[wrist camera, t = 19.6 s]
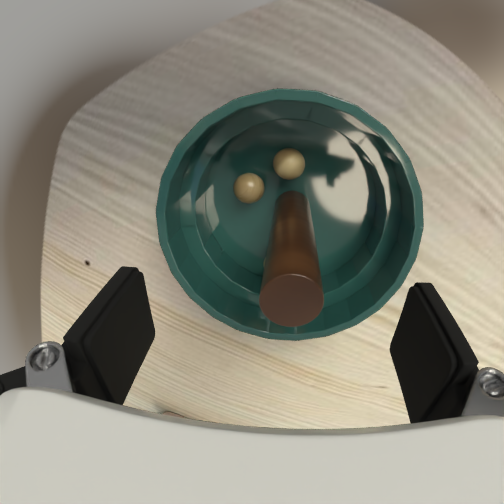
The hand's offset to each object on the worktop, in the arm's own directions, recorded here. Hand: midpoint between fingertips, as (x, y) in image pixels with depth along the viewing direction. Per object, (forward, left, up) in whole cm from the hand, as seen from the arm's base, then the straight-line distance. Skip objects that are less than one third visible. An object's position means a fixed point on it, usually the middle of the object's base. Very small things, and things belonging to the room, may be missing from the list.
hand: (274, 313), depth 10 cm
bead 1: (-3, -1, -11) cm, 11 cm away
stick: (+1, 0, -12) cm, 12 cm away
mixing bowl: (0, 0, -13) cm, 13 cm away
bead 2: (-2, +2, -11) cm, 11 cm away
